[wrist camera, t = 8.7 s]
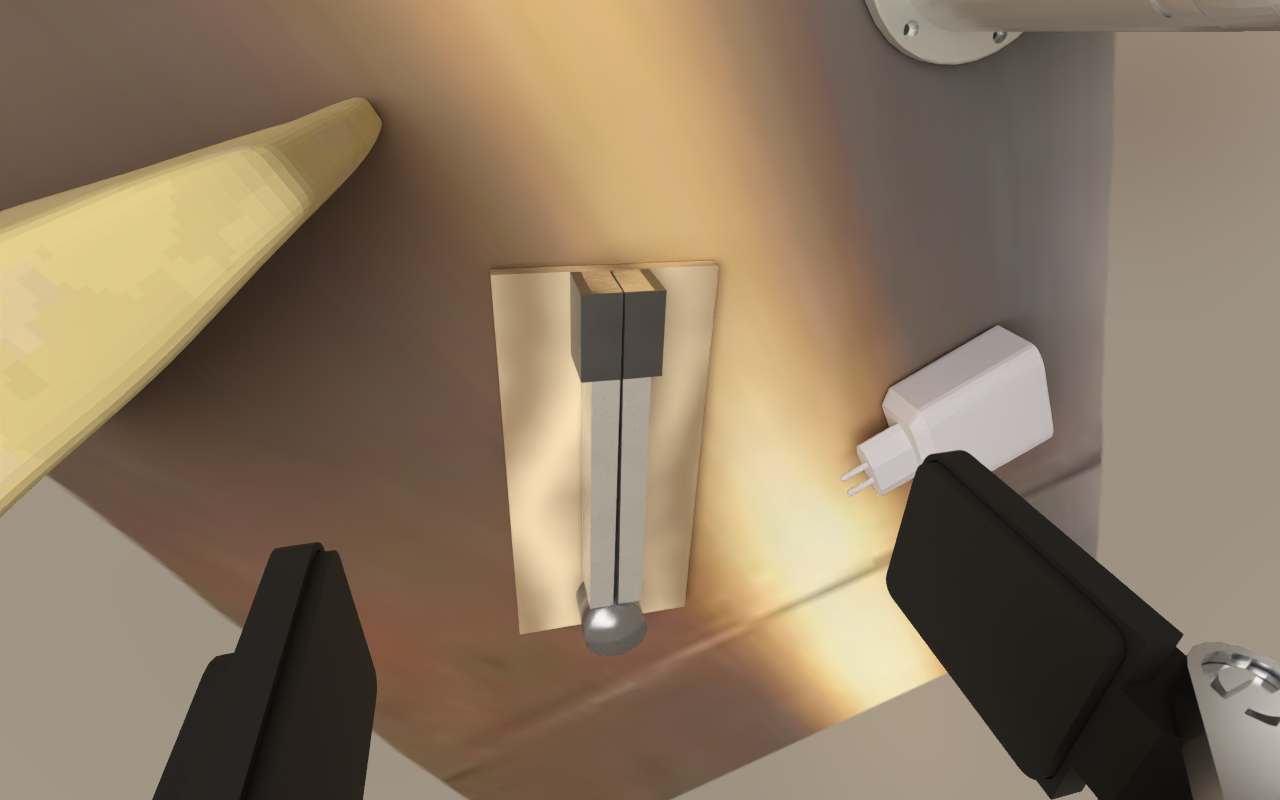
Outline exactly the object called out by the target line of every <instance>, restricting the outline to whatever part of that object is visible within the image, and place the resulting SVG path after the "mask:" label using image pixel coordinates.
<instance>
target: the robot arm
mask: <svg viewBox="0 0 1280 800" xmlns="http://www.w3.org/2000/svg"><path fill="white" fill-rule="evenodd" d="M865 2H866V5H867V7H868V9H869V11H870V13H871V16H872V18H873V20H874V22H875V24H876V26H877V27H878V28H879V30H880V31H881V32H882V34H883V35H884V36H885V38H886V39H887V40H888V41H889V42H890V43H891V44H892V45H893V46H895V47H896V48H897V49H898V50H899V51H901V52H902V53H903V54H905V55H908V56H910V57H912V58H914V59H916V60H918V61H922V62H928V63H934V64H955V65H957V64H962V63H967V62H972V61H977V60H979V59H981V58H984V57H986V56H988V55H991V54H993V53H995V52H997V51H999V50H1000V49H1002V48H1003V47H1005V46H1006V45H1008V44H1009V43H1011V42H1012V41H1014V40H1015V39H1016V38H1017V37H1018V36H1020V35H1021V34H1022V33H1023V32H1242V31H1280V0H865ZM886 584H887V588H888V591H889V593H890V595H891V597H892V598H893V600H894V601H895V602H896V604H897V605H898V606H899V608H900V609H901V610H902V612H903V613H904V614H905V616H906V617H907V618H908V620H909V621H910V622H911V624H912V625H913V626H914V628H915V629H916V630H917V632H918V633H919V634H920V636H921V637H922V639H923V640H924V641H925V643H926V644H927V645H928V647H929V648H930V649H931V651H932V652H933V653H934V655H935V656H936V657H937V659H938V660H939V661H940V663H941V664H942V665H943V667H944V668H945V669H946V671H947V672H948V673H949V675H950V676H951V677H952V679H953V680H954V681H955V683H956V684H957V685H958V686H959V688H960V689H961V691H962V692H963V693H964V695H965V696H966V697H967V699H968V700H969V701H970V703H971V704H972V705H973V707H974V708H975V710H976V711H977V712H978V713H979V715H980V716H981V717H982V719H983V720H984V722H985V723H986V724H987V726H989V728H990V730H991V731H992V732H993V734H994V735H995V736H996V738H997V739H998V740H999V742H1000V743H1001V744H1002V746H1003V747H1004V748H1005V750H1006V751H1007V752H1008V754H1009V755H1010V756H1011V758H1012V759H1013V760H1014V762H1015V763H1016V764H1017V766H1018V767H1019V768H1020V769H1021V771H1022V772H1023V773H1024V774H1025V775H1027V776H1028V777H1029V778H1032V779H1034V780H1036V781H1037V782H1038V783H1039V784H1040V786H1041V787H1042V788H1043V790H1044V791H1045V792H1046V794H1047V795H1048V796H1049V798H1050V799H1051V800H1052V799H1055V798H1059V797H1062V796H1066V795H1070V794H1073V793H1077V792H1081V791H1082V790H1083V788H1084V787H1085V785H1086V784H1087V786H1088V787H1089V788H1090V789H1091V790H1092V792H1093V793H1094V794H1095V795H1096V797H1097V798H1098V800H1280V665H1279V664H1277V663H1276V662H1274V661H1272V660H1270V659H1268V658H1266V657H1265V656H1263V655H1261V654H1258V653H1256V652H1253V651H1250V650H1248V649H1245V648H1243V647H1240V646H1235V645H1230V644H1226V643H1222V642H1204V643H1201V644H1199V645H1196V646H1194V647H1192V649H1191V650H1190V651H1189V653H1188V654H1187V656H1186V655H1184V654H1183V653H1182V652H1181V651H1180V650H1179V649H1178V648H1177V647H1176V645H1177V644H1178V642H1179V641H1180V639H1181V638H1182V636H1183V634H1182V633H1181V632H1180V631H1179V630H1178V629H1176V628H1175V627H1174V626H1173V625H1172V624H1171V623H1169V622H1168V621H1167V620H1166V619H1164V618H1163V617H1162V616H1161V615H1160V614H1159V613H1158V612H1156V611H1155V610H1154V609H1153V608H1152V607H1150V606H1149V605H1148V604H1147V603H1146V602H1144V601H1143V600H1142V599H1141V598H1140V597H1139V596H1137V595H1136V594H1135V593H1134V592H1133V591H1132V590H1130V589H1129V588H1128V587H1127V586H1126V585H1124V584H1123V583H1122V582H1121V581H1120V580H1119V579H1117V578H1116V577H1115V576H1114V575H1113V574H1111V573H1110V572H1109V571H1108V570H1107V569H1106V568H1104V567H1103V566H1102V565H1101V564H1100V563H1098V562H1097V561H1096V560H1095V559H1094V558H1093V557H1091V556H1090V555H1089V554H1088V553H1087V552H1086V551H1084V550H1083V549H1082V548H1081V547H1080V546H1078V545H1077V544H1076V543H1075V542H1074V541H1073V540H1071V539H1070V538H1069V537H1068V536H1067V535H1065V534H1064V533H1063V532H1062V531H1061V530H1060V529H1058V528H1057V527H1056V526H1055V525H1054V524H1052V523H1051V522H1050V521H1049V520H1048V519H1047V518H1045V517H1044V516H1043V515H1042V514H1041V513H1039V512H1038V511H1037V510H1036V509H1035V508H1034V507H1032V506H1031V505H1030V504H1029V503H1028V502H1027V501H1025V500H1024V499H1023V498H1022V497H1021V496H1019V495H1018V494H1017V493H1016V492H1015V491H1014V490H1012V489H1011V488H1010V487H1009V486H1008V485H1006V484H1005V483H1004V482H1003V481H1002V480H1001V479H999V478H998V477H997V476H996V475H995V474H993V473H992V472H991V471H990V470H989V469H988V468H986V467H985V466H984V465H983V464H982V463H980V462H979V461H978V460H977V459H976V458H975V457H973V456H972V455H971V454H970V453H968V452H966V451H963V450H956V451H949V452H942V453H935V454H931V455H928V456H927V457H926V458H925V459H924V461H923V464H921V465H919V466H918V467H917V470H916V472H915V476H914V479H913V483H912V486H911V490H910V493H909V497H908V501H907V504H906V508H905V511H904V515H903V518H902V522H901V525H900V529H899V532H898V536H897V539H896V543H895V547H894V550H893V554H892V557H891V561H890V564H889V568H888V571H887V575H886ZM376 695H377V679H376V672H375V668H374V665H373V662H372V659H371V656H370V652H369V649H368V646H367V643H366V639H365V636H364V633H363V630H362V627H361V623H360V620H359V617H358V614H357V611H356V607H355V604H354V601H353V598H352V595H351V591H350V588H349V585H348V582H347V579H346V575H345V572H344V569H343V566H342V563H341V559H340V556H339V554H338V552H337V551H336V550H332V551H326V552H325V550H324V547H323V546H322V544H321V543H318V542H316V543H309V544H302V545H295V546H288V547H281V548H276V549H275V550H273V551H272V553H271V555H270V557H269V560H268V563H267V565H266V568H265V571H264V574H263V576H262V579H261V582H260V584H259V587H258V590H257V593H256V595H255V598H254V601H253V603H252V606H251V609H250V612H249V614H248V617H247V620H246V622H245V625H244V628H243V630H242V633H241V636H240V639H239V641H238V644H237V647H236V649H235V652H234V653H230V654H224V655H220V656H216V657H215V658H214V659H213V660H212V661H211V662H210V663H209V664H208V666H207V668H206V670H205V672H204V674H203V676H202V678H201V681H200V683H199V686H198V688H197V690H196V693H195V695H194V698H193V700H192V703H191V705H190V708H189V710H188V713H187V715H186V718H185V720H184V723H183V725H182V727H181V730H180V732H179V735H178V737H177V740H176V742H175V745H174V747H173V750H172V752H171V755H170V757H169V760H168V762H167V764H166V767H165V769H164V772H163V774H162V777H161V779H160V782H159V784H158V787H157V789H156V792H155V794H154V797H153V799H152V800H363V794H364V786H365V779H366V771H367V763H368V757H369V749H370V741H371V734H372V726H373V719H374V711H375V704H376Z"/></svg>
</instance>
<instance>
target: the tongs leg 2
mask: <svg viewBox="0 0 1280 800" xmlns="http://www.w3.org/2000/svg"><path fill="white" fill-rule="evenodd" d="M611 274H612V276H613V277H614V279H615V281H616V282H617V284H618V285H619V287H620V288H621V290H622V291H623V323H622V354H621V380H620V404H619V435H618V467H617V499H616V530H615V562H614V590H615V594H616V597H617V601H618V604H623V603H629V602H634V601H640V600H641V589H642V567H643V545H644V523H645V501H646V479H647V457H648V435H649V413H650V391H651V377H657V376H662V367H663V349H664V331H665V312H666V294H667V290H666V289H665V288H664V287H663V285H662V284H661V283H660V282H659V280H658V279H657V278H656V277H655V275H654V274H653V273H652V272H651V271H650V269H634V270H613V271H611Z"/></svg>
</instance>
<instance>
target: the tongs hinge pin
mask: <svg viewBox="0 0 1280 800" xmlns="http://www.w3.org/2000/svg"><path fill="white" fill-rule="evenodd" d="M576 600H577V605H578V609H579V614H580V619H581V624H582V628H583V633H584V638H585V642H586V646H587V647H588V649H589V650H590V651H591V652H593V653H595V654H597V655H601V656H615V655H620V654H623V653H625V652H628V651H630V650H631V649H633V648H635V647H636V646H637V645H638V644H639V643H640V642H641V641H642V640H643V638H644V636H645V634H646V630H647V626H646V622H645V619H644V616H643V613H642V610H641V606H640V603H639V601H634V602H629V603H623V604H618V601H617V597H616V594H615V590H614V594H613V605H611V606H604V607H598V608H592V609H590V606H589V602H588V598H587V593H586V589H585V585H584V581H583V582H582V583H581V585H580V586H579V588H578V590H577V593H576Z"/></svg>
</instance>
